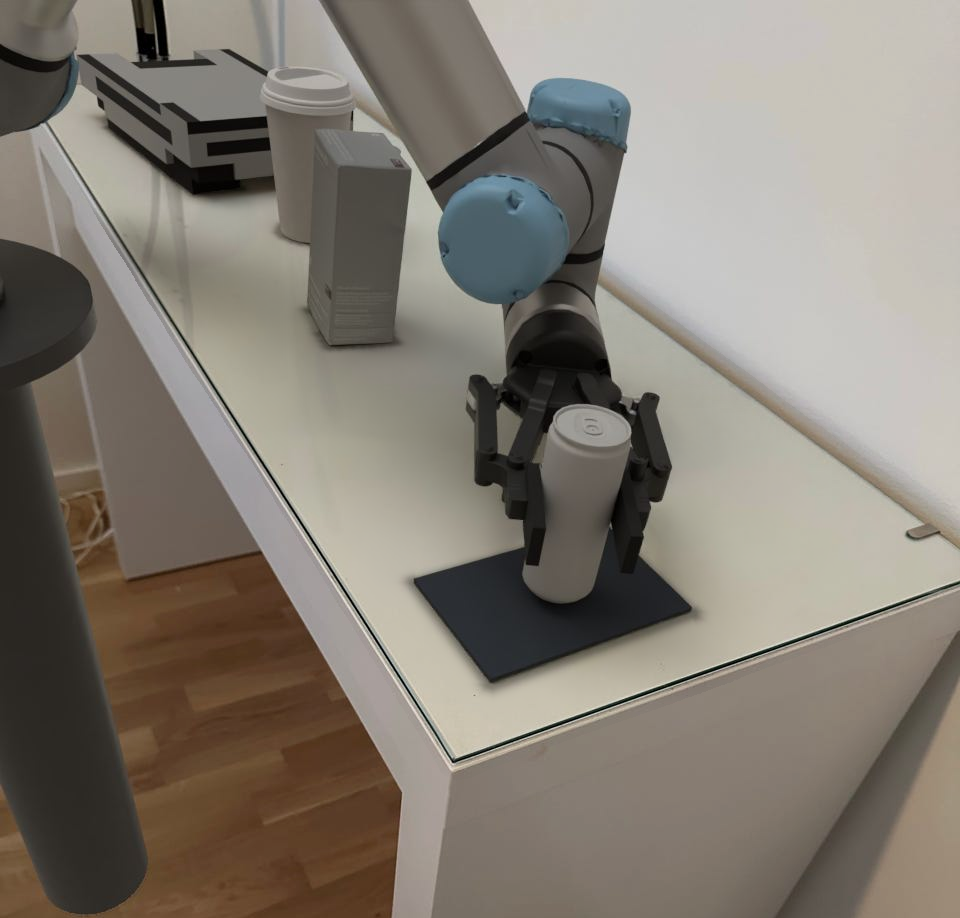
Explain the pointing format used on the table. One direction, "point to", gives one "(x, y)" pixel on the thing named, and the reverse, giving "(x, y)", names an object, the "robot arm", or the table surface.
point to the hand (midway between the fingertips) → (584, 550)
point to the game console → (188, 114)
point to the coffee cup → (301, 135)
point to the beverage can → (578, 499)
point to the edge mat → (543, 610)
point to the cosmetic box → (356, 235)
